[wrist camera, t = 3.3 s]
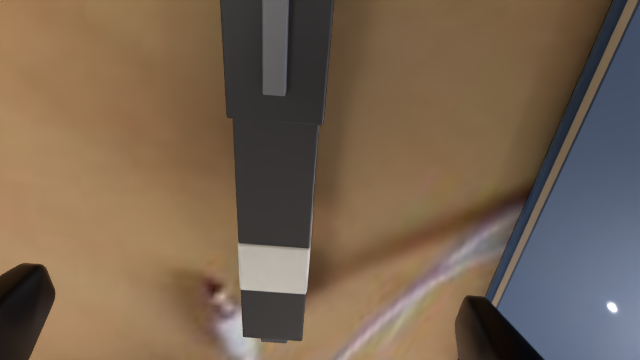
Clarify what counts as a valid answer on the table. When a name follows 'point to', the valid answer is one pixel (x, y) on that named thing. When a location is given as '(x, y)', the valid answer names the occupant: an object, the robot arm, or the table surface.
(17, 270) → the robot arm
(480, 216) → the table surface
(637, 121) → the notebook
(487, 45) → the table surface
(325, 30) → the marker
